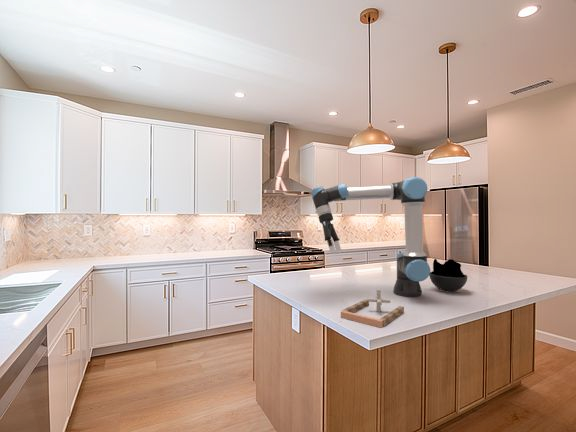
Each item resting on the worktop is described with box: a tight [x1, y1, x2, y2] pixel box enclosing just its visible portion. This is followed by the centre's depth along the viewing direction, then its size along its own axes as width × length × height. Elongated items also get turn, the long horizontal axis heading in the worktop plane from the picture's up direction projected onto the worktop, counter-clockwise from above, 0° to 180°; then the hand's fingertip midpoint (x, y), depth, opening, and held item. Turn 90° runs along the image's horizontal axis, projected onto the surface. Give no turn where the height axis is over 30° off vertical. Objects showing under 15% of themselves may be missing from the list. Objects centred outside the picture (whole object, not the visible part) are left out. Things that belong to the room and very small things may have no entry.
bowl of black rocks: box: [428, 258, 468, 293], centre depth 174 cm, size 20×20×19 cm
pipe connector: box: [366, 288, 391, 313], centre depth 136 cm, size 10×10×10 cm
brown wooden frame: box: [341, 299, 405, 327], centre depth 132 cm, size 23×19×2 cm
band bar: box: [340, 310, 384, 328], centre depth 123 cm, size 2×18×2 cm, turn 49°
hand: (336, 252), depth 154 cm, fingers open, 13 cm apart
